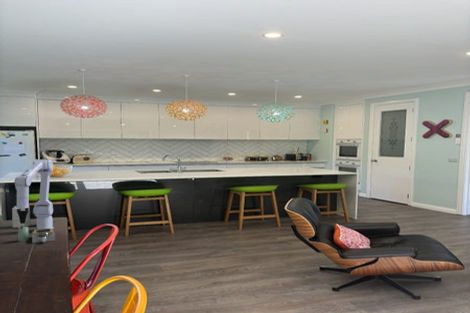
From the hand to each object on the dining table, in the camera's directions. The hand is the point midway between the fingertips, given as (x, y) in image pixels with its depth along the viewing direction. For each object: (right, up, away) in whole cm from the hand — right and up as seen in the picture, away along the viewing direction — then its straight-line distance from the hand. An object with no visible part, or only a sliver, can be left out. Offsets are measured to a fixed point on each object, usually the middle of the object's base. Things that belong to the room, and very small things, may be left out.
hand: (22, 222), depth 201 cm
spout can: (0, -10, +1) cm, 10 cm away
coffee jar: (-9, -9, +40) cm, 42 cm away
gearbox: (+10, -10, +3) cm, 15 cm away
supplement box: (-21, -9, +35) cm, 42 cm away
